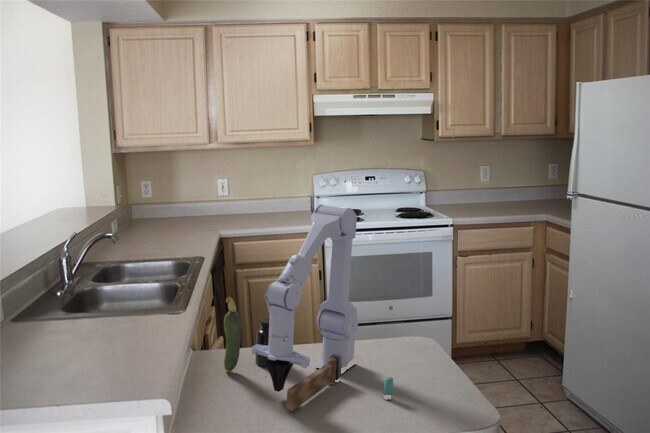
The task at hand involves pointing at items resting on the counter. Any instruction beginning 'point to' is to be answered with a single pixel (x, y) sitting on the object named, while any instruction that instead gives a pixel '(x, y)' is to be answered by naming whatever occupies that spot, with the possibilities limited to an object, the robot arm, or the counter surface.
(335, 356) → the hinge post
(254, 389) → the counter surface
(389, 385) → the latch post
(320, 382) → the wooden plank
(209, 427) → the counter surface
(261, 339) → the supplement bottle
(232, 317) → the vegetable
